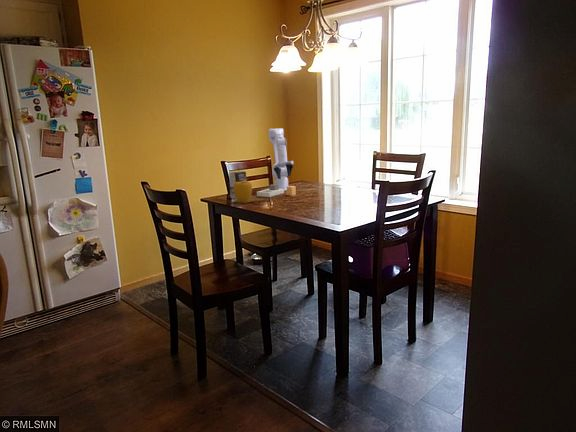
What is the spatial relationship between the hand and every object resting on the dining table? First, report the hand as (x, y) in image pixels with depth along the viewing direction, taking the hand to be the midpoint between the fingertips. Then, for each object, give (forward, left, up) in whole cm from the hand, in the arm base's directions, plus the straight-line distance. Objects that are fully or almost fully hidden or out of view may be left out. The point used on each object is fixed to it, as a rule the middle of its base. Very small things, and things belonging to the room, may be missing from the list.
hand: (284, 177), depth 269 cm
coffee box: (+17, -24, -12) cm, 31 cm away
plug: (-4, +2, -12) cm, 13 cm away
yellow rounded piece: (+27, -12, -12) cm, 32 cm away
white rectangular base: (+2, -10, -12) cm, 15 cm away
